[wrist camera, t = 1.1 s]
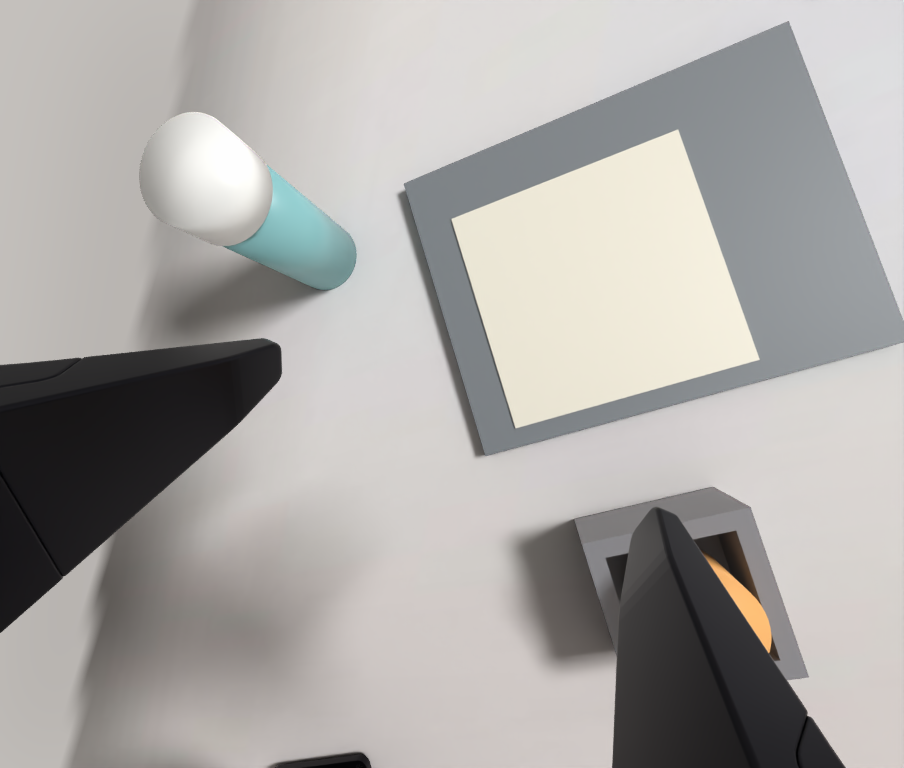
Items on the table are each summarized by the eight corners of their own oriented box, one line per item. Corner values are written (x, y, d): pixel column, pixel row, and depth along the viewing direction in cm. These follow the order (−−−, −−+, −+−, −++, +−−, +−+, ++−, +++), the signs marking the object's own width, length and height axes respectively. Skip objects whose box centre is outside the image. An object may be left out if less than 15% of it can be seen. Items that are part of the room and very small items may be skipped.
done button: (644, 648, 19) (665, 697, 16) (614, 554, 19) (629, 585, 16) (746, 631, 18) (788, 679, 15) (713, 533, 18) (748, 562, 15)
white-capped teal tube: (304, 301, 25) (154, 243, 15) (287, 237, 25) (128, 140, 15) (366, 277, 24) (249, 201, 14) (347, 212, 24) (220, 92, 14)
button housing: (615, 650, 21) (631, 702, 17) (574, 519, 21) (581, 543, 18) (760, 626, 20) (809, 677, 16) (713, 486, 20) (750, 507, 17)
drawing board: (486, 454, 22) (485, 456, 22) (406, 188, 23) (403, 182, 23) (898, 341, 19) (912, 340, 18) (781, 32, 20) (789, 18, 19)
